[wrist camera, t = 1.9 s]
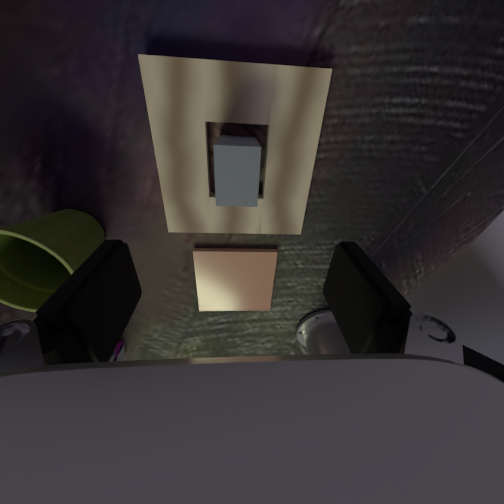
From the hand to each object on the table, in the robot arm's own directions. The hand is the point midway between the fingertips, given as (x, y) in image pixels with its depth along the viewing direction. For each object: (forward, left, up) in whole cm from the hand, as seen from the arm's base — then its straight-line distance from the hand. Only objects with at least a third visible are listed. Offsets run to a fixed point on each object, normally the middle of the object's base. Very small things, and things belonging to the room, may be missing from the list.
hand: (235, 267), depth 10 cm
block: (0, 0, -24) cm, 24 cm away
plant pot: (+24, +11, -24) cm, 35 cm away
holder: (0, 0, -24) cm, 24 cm away
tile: (0, +21, -24) cm, 32 cm away
